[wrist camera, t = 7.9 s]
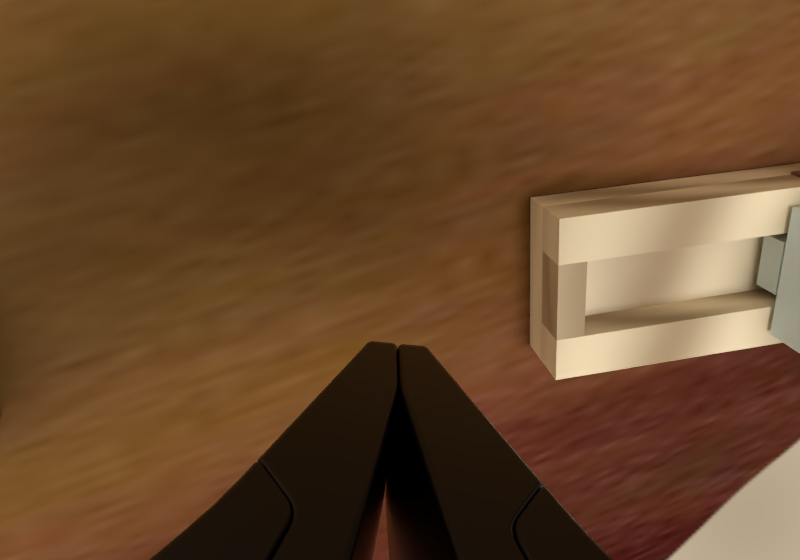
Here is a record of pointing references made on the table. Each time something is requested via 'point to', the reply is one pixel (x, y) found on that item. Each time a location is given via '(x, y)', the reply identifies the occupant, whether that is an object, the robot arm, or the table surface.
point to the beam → (654, 269)
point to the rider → (783, 280)
